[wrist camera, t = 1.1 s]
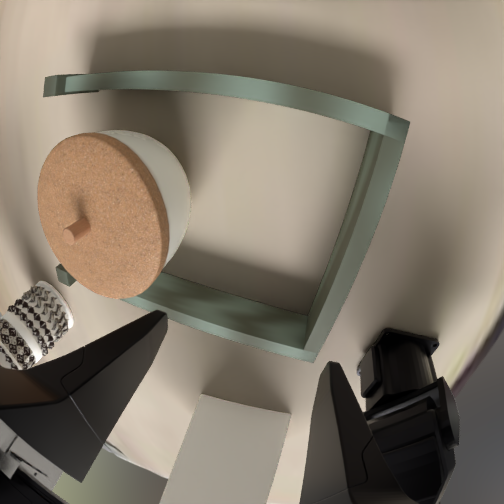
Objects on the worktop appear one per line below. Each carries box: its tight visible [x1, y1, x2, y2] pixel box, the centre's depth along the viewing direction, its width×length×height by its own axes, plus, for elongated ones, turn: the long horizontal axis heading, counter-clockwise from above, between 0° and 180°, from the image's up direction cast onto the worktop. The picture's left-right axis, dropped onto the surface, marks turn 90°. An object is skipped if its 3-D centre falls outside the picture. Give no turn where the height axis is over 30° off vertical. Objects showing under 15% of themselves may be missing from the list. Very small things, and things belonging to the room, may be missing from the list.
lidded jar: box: [38, 130, 191, 299], centre depth 17 cm, size 11×11×9 cm
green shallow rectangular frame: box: [43, 71, 410, 363], centre depth 19 cm, size 24×18×5 cm
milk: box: [159, 394, 291, 504], centre depth 24 cm, size 12×12×26 cm
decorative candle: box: [0, 281, 74, 370], centre depth 23 cm, size 9×9×25 cm
